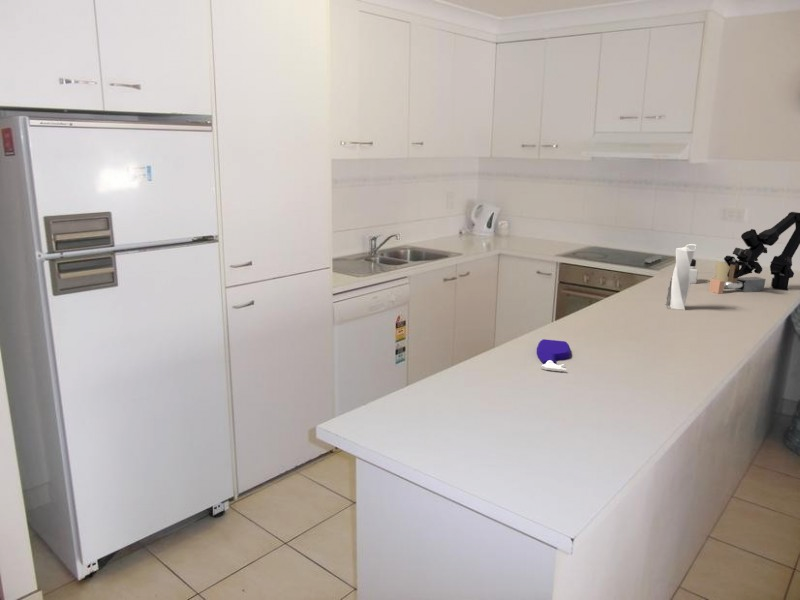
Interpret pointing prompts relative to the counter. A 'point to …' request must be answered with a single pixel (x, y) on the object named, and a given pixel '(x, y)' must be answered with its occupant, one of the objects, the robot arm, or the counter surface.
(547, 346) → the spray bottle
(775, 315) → the counter surface
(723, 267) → the coffee cup
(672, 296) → the skyscraper
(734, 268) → the brown and silver piece
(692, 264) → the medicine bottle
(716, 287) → the socket block
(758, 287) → the steel block
